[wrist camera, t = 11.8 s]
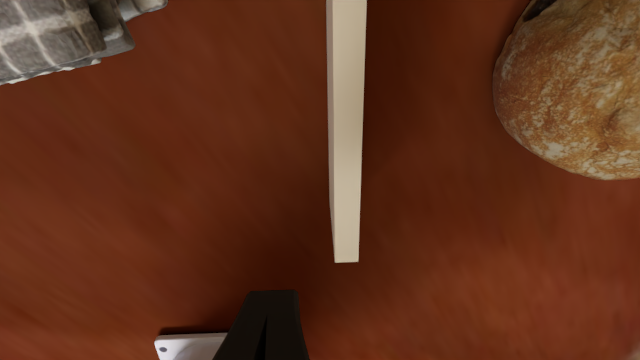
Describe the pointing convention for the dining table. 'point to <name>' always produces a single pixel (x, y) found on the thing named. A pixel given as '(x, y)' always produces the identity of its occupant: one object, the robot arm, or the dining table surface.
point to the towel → (63, 34)
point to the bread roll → (574, 85)
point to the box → (345, 121)
